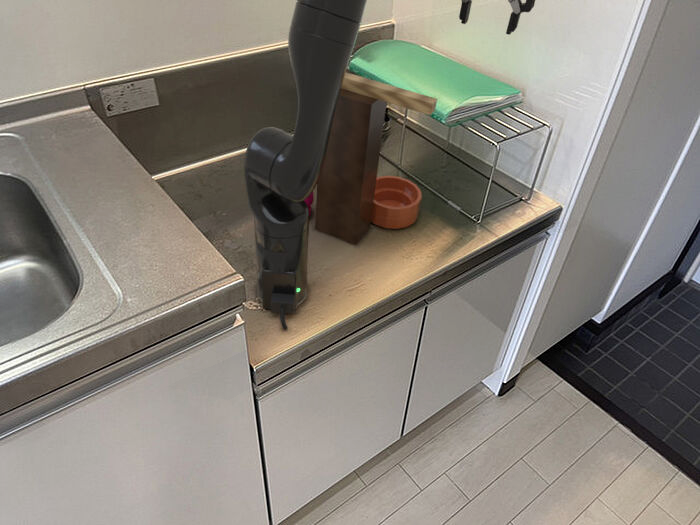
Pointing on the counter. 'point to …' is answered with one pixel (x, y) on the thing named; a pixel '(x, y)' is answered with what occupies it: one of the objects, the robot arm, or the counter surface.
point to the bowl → (395, 202)
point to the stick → (389, 93)
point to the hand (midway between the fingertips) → (486, 27)
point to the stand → (350, 167)
